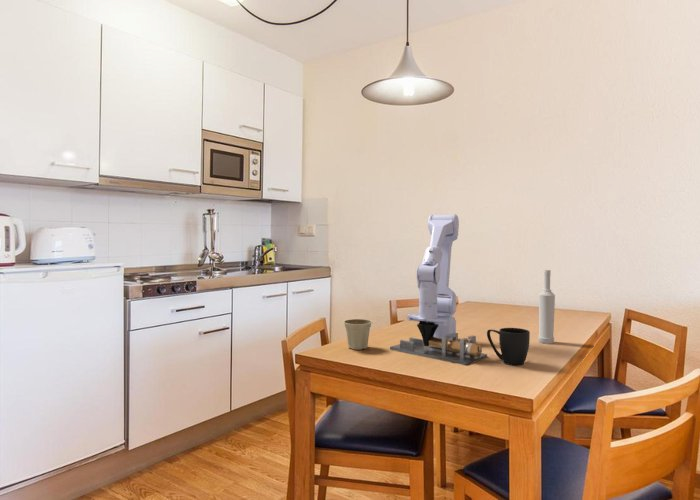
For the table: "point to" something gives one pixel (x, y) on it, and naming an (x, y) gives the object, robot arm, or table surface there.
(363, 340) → the flower pot
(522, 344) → the mug
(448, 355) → the firebox plate
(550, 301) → the bottle
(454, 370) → the table surface
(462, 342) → the collar
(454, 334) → the collar
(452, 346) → the copper tube
